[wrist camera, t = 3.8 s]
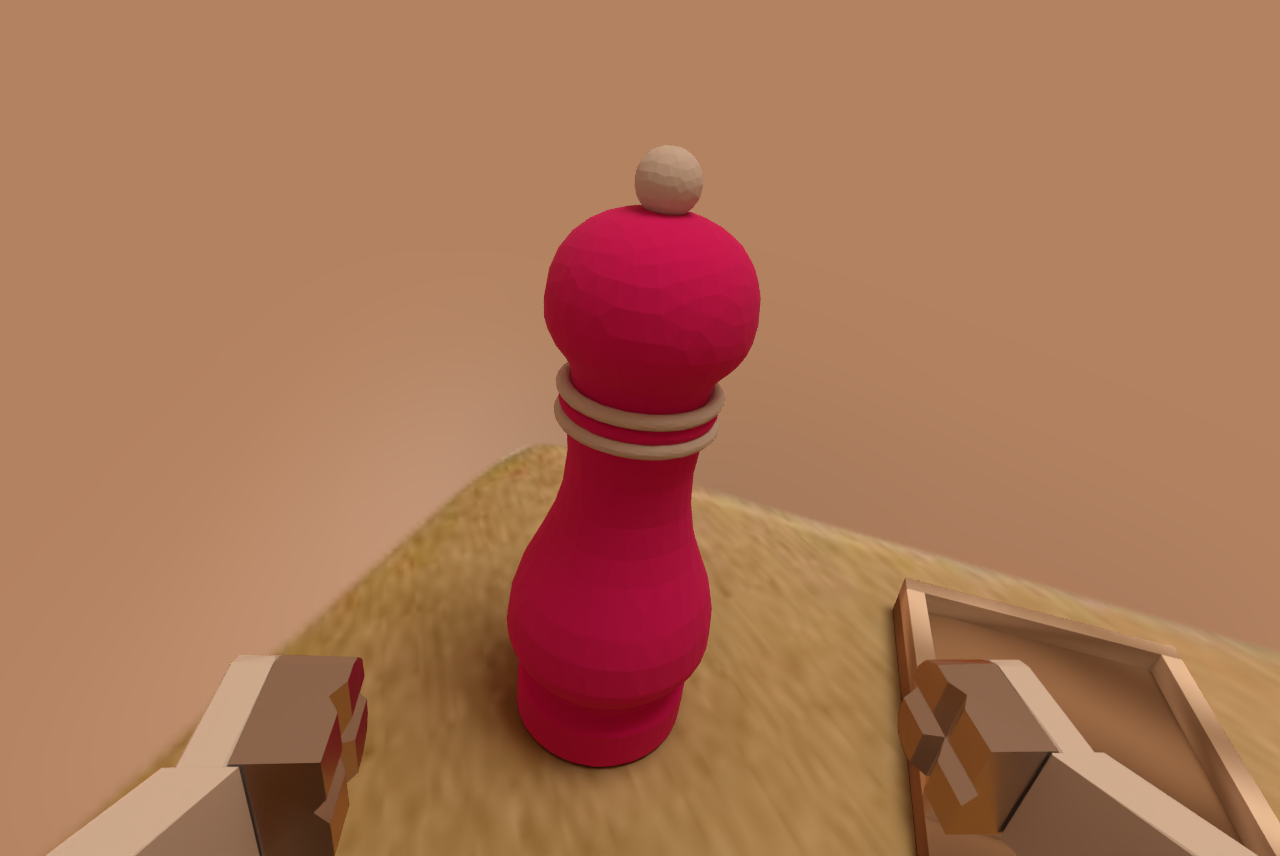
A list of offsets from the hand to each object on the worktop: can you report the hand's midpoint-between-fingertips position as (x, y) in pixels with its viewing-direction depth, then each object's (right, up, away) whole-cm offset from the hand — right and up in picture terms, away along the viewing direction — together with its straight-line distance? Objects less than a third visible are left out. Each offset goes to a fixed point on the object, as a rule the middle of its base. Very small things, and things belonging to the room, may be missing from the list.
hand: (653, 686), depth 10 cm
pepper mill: (-2, -7, +17) cm, 18 cm away
